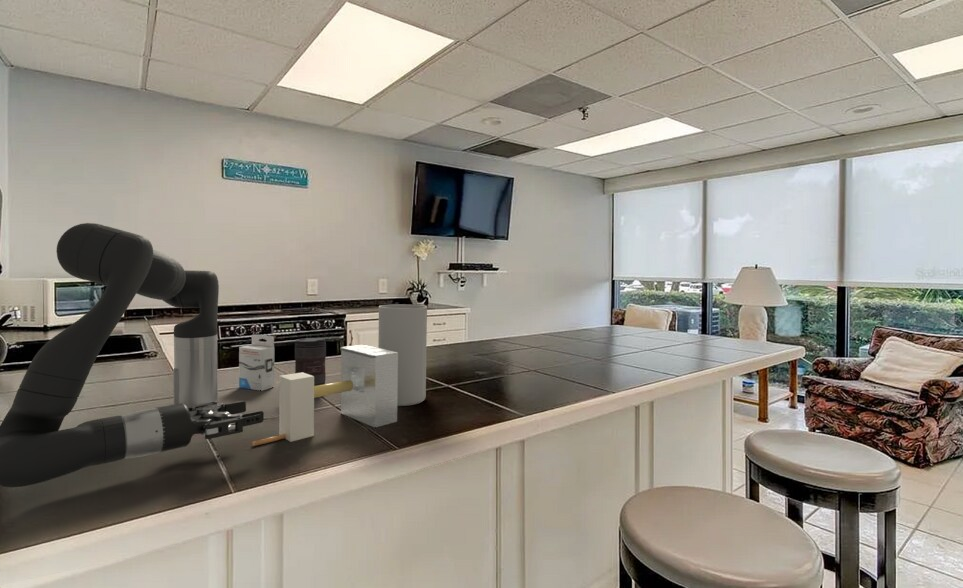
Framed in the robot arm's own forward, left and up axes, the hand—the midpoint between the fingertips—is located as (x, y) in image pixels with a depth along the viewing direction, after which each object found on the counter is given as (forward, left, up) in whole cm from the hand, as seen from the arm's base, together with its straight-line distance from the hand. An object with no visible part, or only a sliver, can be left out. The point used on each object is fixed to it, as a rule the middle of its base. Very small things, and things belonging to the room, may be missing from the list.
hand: (253, 410), depth 93 cm
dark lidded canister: (+15, +36, -7) cm, 40 cm away
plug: (+10, +3, -7) cm, 13 cm away
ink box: (+2, +48, -7) cm, 48 cm away
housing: (+25, +9, -7) cm, 27 cm away
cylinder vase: (+36, +20, -7) cm, 42 cm away
